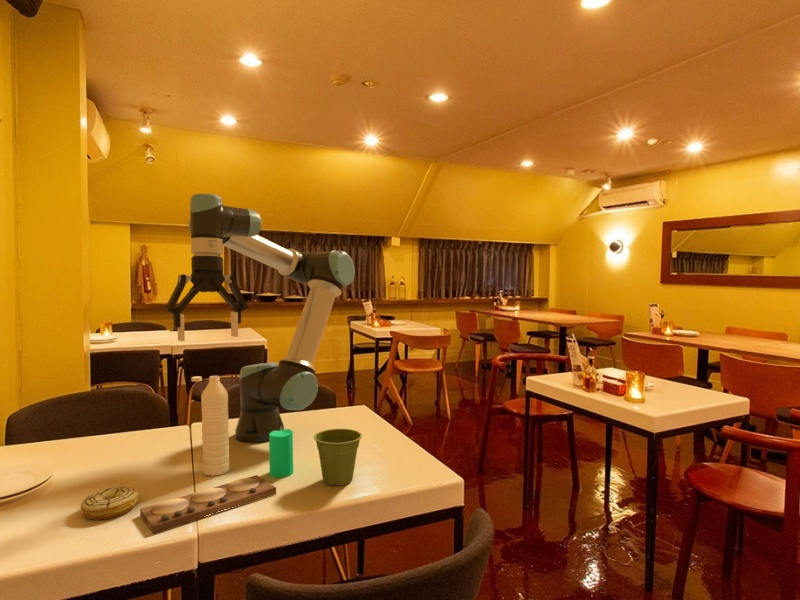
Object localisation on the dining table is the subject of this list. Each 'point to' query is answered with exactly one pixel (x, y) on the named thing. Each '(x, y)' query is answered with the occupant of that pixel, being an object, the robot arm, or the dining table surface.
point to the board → (205, 503)
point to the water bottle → (214, 427)
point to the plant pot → (337, 454)
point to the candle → (281, 453)
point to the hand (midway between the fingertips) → (209, 338)
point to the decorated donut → (109, 503)
